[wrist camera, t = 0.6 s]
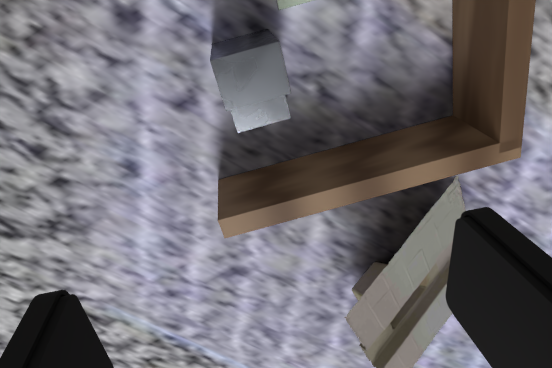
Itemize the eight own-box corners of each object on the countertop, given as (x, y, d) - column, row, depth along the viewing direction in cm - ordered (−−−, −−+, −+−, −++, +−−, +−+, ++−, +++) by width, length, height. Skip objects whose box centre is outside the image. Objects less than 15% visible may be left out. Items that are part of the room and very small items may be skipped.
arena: (479, -253, 21) (567, -331, 15) (471, 127, 32) (520, 157, 27) (99, -147, 21) (58, -188, 16) (224, 195, 32) (224, 238, 27)
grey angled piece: (365, 160, 37) (285, 292, 30) (460, 171, 31) (386, 337, 25) (403, 255, 47) (349, 369, 40) (480, 276, 41) (432, 413, 35)
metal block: (267, 28, 26) (279, 41, 21) (286, 109, 29) (301, 138, 24) (212, 44, 26) (210, 60, 21) (236, 123, 29) (240, 155, 24)
